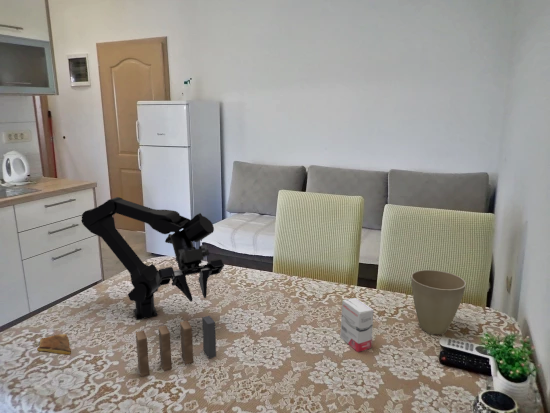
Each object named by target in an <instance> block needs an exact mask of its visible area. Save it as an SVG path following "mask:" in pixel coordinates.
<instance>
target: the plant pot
mask: <svg viewBox="0 0 550 413" xmlns="http://www.w3.org/2000/svg"><path fill="white" fill-rule="evenodd" d="M410 276H411V289H412V290H411V291H412V298H413V304H414V309H415V314H416V317H417V321H418V325H419V327H420V328H422V329H423V330H422V329H421V330H422V331H424V332H425V331H426V333H429V334H432V335H438V334H439V335H444V334H446V332H447V331H448V329H449V327H450V326H451V324H452V322H453V321H454V319H455V316H456V314H457V313H458V309H459V307H460V305H461V303H462V299H463V296H464V293H465V289H466V285H467V282H466V280H465V279H464V278H462V277H461V276H459V275H456V274H454V273H452V272H447V271H442V270H438V269H437V270H435V269H421V270H417V271H415V272H414V271H413V272H412V273H411V275H410ZM443 333H444V334H443Z"/></svg>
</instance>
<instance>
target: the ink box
mask: <svg viewBox="0 0 550 413" xmlns="http://www.w3.org/2000/svg"><path fill="white" fill-rule="evenodd" d="M341 305H342V306H341V321H340V338H341V339H342V340H343V342H345V343H346V344H348V345H349V346H350V347H351V348H352V349H354V350H355V351H356V352H357V353H359V352H362V351H366V350H369V349H371V348H372V342H373V323H374V322H373V321H374V309H373V308H371V307H370V306H368V305H367V304H366V303H364V302H362V301H361V300H360V299H358V298H357V297H354V298H353V297H352V298H347V299H343V300H342V302H341Z"/></svg>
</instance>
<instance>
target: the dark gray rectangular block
mask: <svg viewBox="0 0 550 413" xmlns="http://www.w3.org/2000/svg"><path fill="white" fill-rule="evenodd" d="M201 321H202V324H201V325H202V344H203V345H202V346H203V352H204V354H205V356H206V357H207V358H208V359H212V358H215V357H217V343H216V340H217V338H216V335H217V334H216V321H215V320H214V319H213V318H212V316H210V315H205V316H202V320H201Z"/></svg>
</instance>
